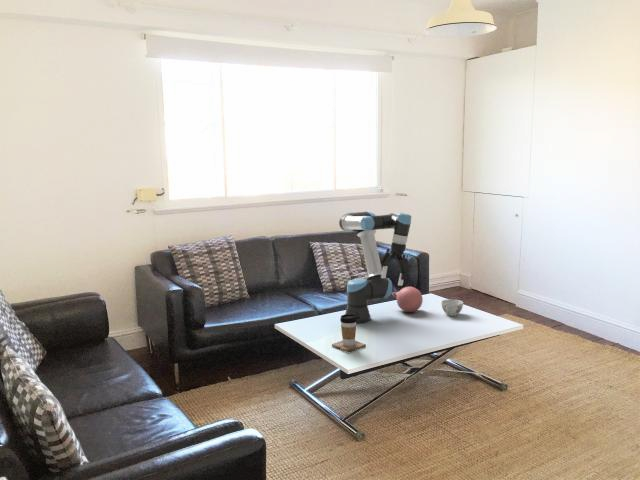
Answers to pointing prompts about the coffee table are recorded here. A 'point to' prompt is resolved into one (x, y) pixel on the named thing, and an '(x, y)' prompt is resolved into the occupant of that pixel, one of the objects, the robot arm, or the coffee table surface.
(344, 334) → the coffee cup
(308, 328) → the coffee table surface
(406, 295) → the pink rubber ball
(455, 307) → the teacup
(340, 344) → the plate
